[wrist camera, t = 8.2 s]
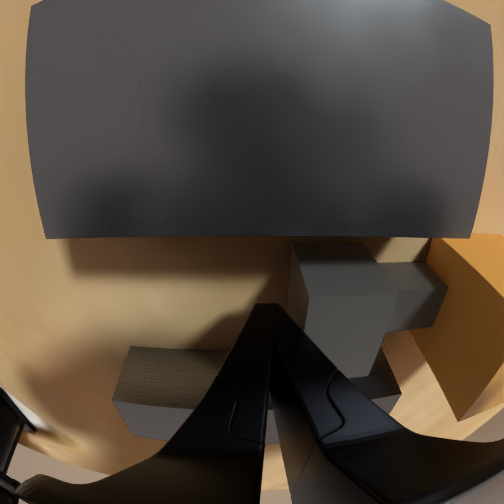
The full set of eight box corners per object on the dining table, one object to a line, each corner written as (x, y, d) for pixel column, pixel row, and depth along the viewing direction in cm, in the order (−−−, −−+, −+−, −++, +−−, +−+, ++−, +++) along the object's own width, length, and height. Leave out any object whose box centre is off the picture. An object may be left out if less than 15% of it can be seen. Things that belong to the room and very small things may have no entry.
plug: (471, 313, 12) (526, 389, 7) (283, 331, 12) (302, 458, 7) (501, 234, 10) (579, 303, 5) (292, 228, 10) (338, 359, 5)
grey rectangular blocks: (362, 383, 14) (378, 430, 11) (145, 386, 13) (133, 436, 11) (431, 35, 6) (490, 25, 4) (85, 24, 6) (31, 5, 3)
